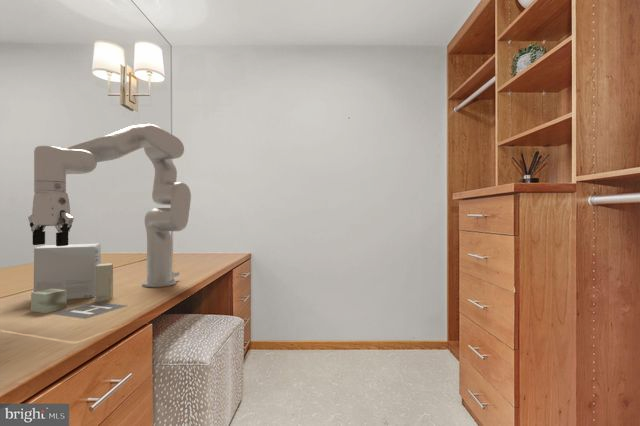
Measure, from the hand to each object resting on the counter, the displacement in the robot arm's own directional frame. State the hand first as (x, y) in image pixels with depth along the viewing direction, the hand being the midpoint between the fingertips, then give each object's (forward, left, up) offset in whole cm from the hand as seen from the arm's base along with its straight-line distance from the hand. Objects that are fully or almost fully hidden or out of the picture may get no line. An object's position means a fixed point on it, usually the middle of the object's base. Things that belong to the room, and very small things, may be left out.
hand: (50, 245), depth 103 cm
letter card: (-4, +12, -20) cm, 23 cm away
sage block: (0, 0, -20) cm, 20 cm away
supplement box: (-15, -12, -20) cm, 28 cm away
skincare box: (-15, +4, -20) cm, 25 cm away
